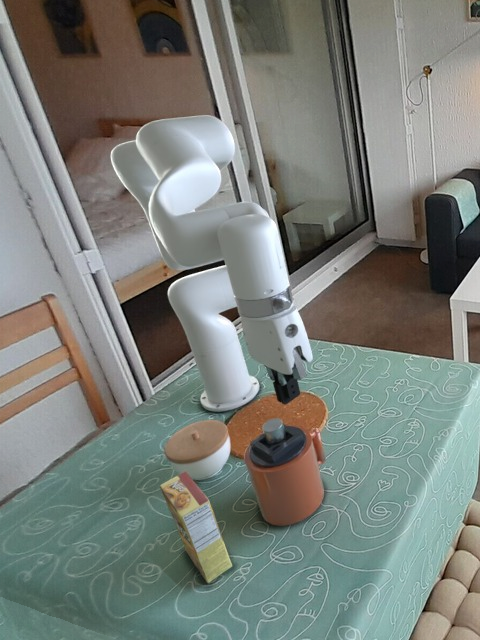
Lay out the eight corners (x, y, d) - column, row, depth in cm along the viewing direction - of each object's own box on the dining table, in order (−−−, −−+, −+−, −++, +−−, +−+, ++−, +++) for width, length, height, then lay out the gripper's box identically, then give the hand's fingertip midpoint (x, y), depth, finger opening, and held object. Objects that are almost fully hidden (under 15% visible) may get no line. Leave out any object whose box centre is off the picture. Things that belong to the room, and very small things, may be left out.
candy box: (185, 551, 83) (156, 486, 76) (211, 534, 86) (186, 469, 79) (208, 585, 78) (179, 518, 71) (235, 565, 81) (210, 499, 74)
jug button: (262, 440, 85) (258, 427, 84) (278, 429, 87) (274, 415, 86) (274, 447, 84) (270, 434, 82) (290, 435, 86) (286, 422, 85)
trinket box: (169, 495, 93) (153, 458, 89) (184, 454, 103) (170, 418, 98) (231, 482, 96) (218, 446, 92) (241, 443, 105) (230, 408, 101)
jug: (248, 508, 91) (227, 446, 84) (308, 459, 101) (294, 400, 94) (287, 536, 85) (268, 473, 79) (347, 481, 96) (335, 421, 89)
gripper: (319, 301, 73) (339, 400, 81) (255, 278, 80) (279, 372, 88) (275, 324, 67) (301, 429, 75) (210, 298, 74) (240, 396, 82)
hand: (289, 398), depth 81 cm, fingers closed
